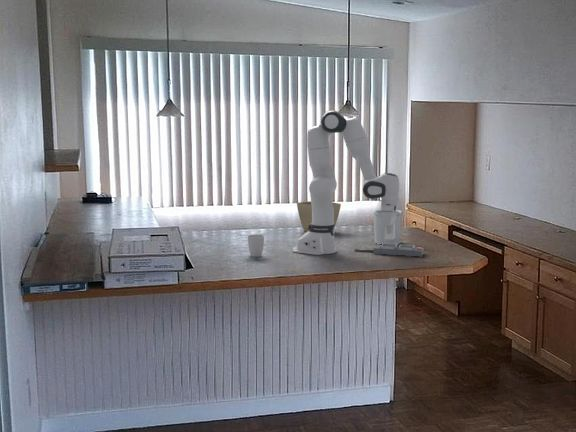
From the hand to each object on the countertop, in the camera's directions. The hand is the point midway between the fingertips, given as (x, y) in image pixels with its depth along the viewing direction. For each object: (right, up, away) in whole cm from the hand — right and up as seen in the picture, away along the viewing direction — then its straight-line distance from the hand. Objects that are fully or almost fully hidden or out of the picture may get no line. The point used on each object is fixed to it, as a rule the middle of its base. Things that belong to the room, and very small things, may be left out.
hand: (389, 232), depth 358 cm
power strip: (-1, -11, +2) cm, 11 cm away
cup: (-67, -12, -5) cm, 68 cm away
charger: (0, -3, 0) cm, 3 cm away
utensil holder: (+2, -7, +28) cm, 29 cm away
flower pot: (-33, -1, +61) cm, 70 cm away
